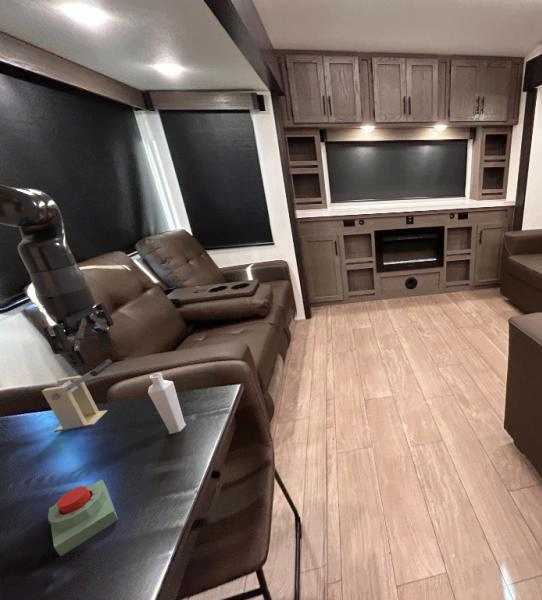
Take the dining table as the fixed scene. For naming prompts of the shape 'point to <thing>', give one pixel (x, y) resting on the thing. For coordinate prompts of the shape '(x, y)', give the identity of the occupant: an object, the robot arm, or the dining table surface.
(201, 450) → the dining table surface
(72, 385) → the gray bracket-mounted lever
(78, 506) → the button
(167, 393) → the perfume bottle
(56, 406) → the lever bracket
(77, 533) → the button block
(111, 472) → the dining table surface
